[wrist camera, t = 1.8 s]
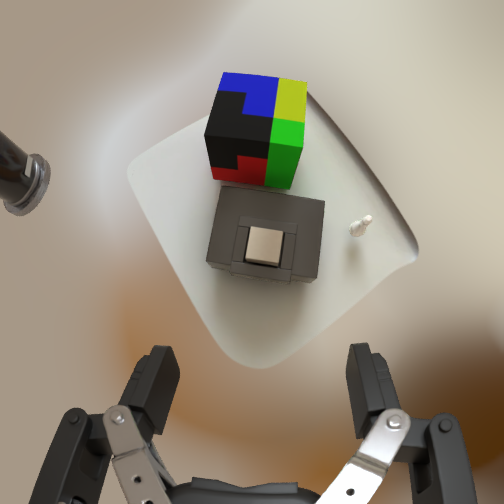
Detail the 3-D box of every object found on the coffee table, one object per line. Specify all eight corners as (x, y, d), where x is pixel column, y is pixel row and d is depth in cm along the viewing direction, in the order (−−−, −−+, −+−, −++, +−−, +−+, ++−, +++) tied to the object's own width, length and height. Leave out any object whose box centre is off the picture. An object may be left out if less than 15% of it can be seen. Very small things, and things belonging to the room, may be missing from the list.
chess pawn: (353, 240, 36) (365, 231, 32) (345, 227, 36) (356, 216, 32) (368, 230, 36) (381, 220, 32) (360, 217, 37) (371, 206, 33)
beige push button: (246, 261, 30) (245, 257, 28) (251, 231, 31) (250, 226, 29) (277, 266, 30) (278, 263, 28) (281, 236, 30) (283, 231, 29)
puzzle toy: (227, 120, 40) (223, 72, 30) (295, 129, 40) (307, 82, 30) (213, 179, 38) (204, 135, 28) (289, 189, 37) (302, 147, 28)
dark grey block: (210, 276, 35) (200, 267, 30) (225, 199, 38) (219, 178, 32) (309, 291, 35) (319, 286, 29) (318, 213, 37) (328, 194, 31)
